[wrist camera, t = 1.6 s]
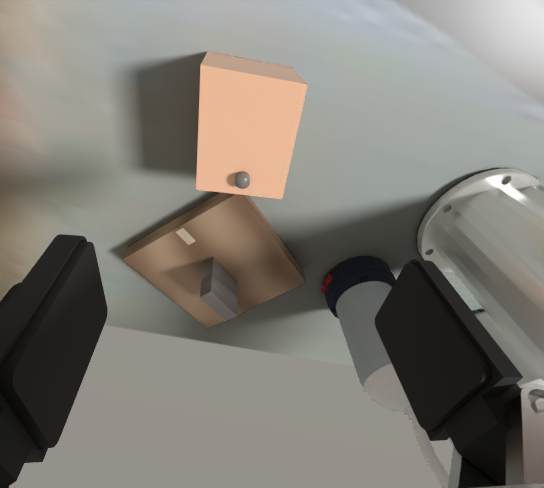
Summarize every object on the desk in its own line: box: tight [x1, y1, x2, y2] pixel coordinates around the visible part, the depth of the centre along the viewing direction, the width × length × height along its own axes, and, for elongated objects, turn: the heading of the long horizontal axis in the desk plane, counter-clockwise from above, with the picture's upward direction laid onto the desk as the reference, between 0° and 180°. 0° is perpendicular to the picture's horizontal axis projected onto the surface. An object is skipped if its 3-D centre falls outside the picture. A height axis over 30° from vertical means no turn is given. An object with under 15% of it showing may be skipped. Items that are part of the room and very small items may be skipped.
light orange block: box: [196, 52, 308, 199], centre depth 21 cm, size 6×8×7 cm
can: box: [474, 311, 544, 388], centre depth 40 cm, size 8×8×12 cm
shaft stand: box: [123, 192, 306, 329], centre depth 30 cm, size 13×13×7 cm
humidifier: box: [321, 256, 454, 488], centre depth 27 cm, size 8×8×25 cm
